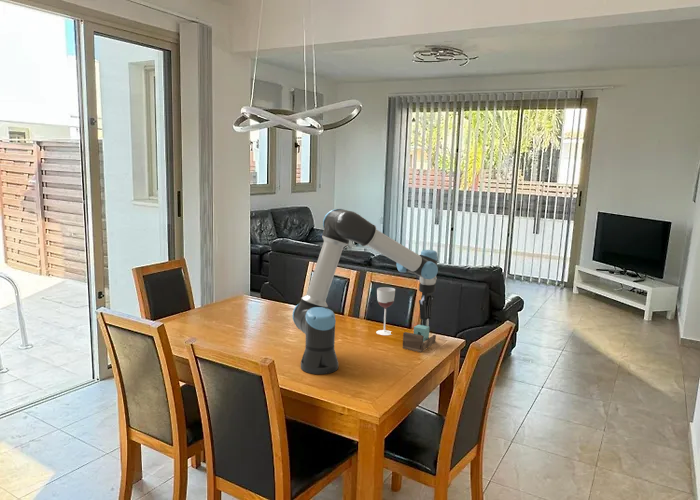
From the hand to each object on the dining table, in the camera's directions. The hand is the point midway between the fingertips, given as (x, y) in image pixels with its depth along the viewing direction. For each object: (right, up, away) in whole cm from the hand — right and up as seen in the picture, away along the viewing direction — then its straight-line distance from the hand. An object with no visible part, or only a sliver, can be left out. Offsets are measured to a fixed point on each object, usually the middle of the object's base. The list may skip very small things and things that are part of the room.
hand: (424, 332), depth 240 cm
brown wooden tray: (-3, -5, -4) cm, 8 cm away
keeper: (-2, -4, -3) cm, 5 cm away
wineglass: (-18, -2, +13) cm, 22 cm away
